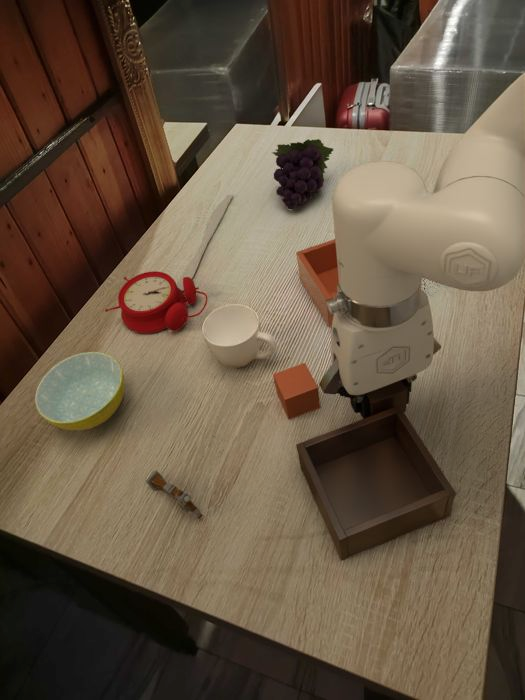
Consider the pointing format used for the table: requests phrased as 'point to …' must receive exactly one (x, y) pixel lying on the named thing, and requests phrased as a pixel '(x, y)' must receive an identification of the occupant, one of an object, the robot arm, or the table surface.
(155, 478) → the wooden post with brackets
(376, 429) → the walnut bin
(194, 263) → the butter knife
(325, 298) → the terracotta bin
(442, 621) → the table surface
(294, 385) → the terracotta block
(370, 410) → the walnut block
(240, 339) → the cup
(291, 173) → the fruit
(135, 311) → the alarm clock
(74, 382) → the bowl
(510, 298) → the table surface
